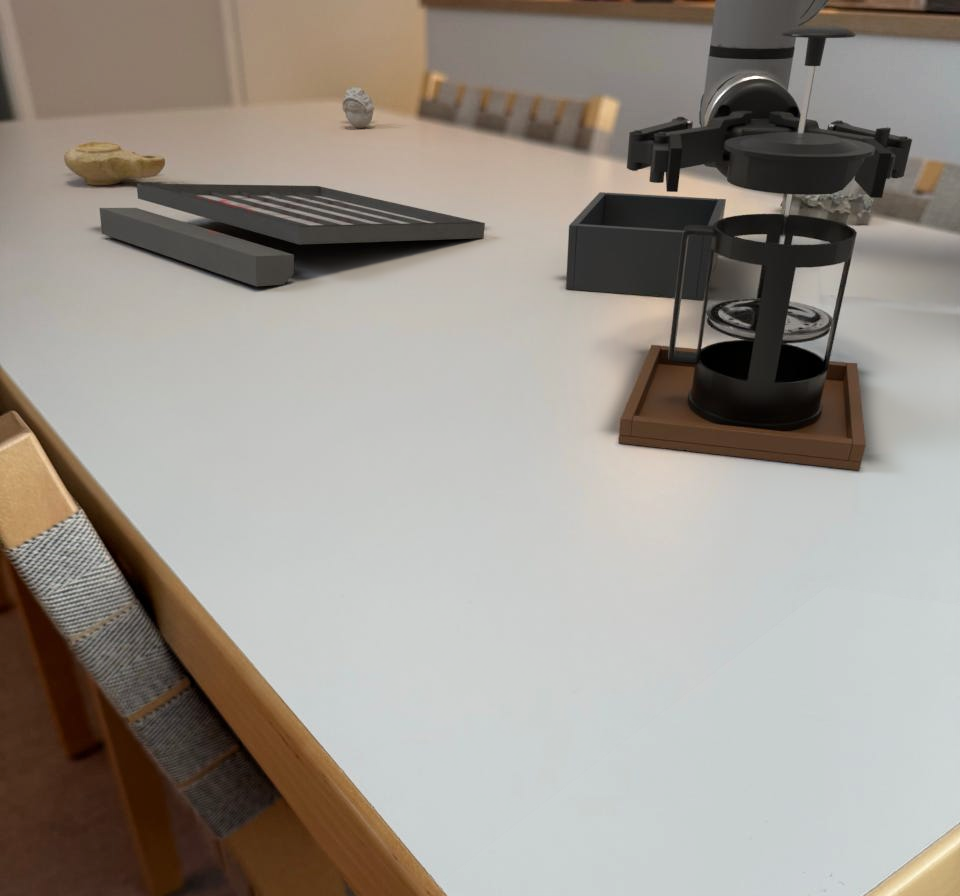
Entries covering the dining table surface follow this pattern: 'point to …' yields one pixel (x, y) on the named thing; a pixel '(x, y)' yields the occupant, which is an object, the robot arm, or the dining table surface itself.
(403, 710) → the dining table surface
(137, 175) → the oil lamp
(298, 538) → the dining table surface
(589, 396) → the dining table surface
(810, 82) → the french press
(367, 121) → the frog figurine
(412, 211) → the dark grey wedge stand
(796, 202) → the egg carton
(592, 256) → the holder
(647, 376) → the tray
